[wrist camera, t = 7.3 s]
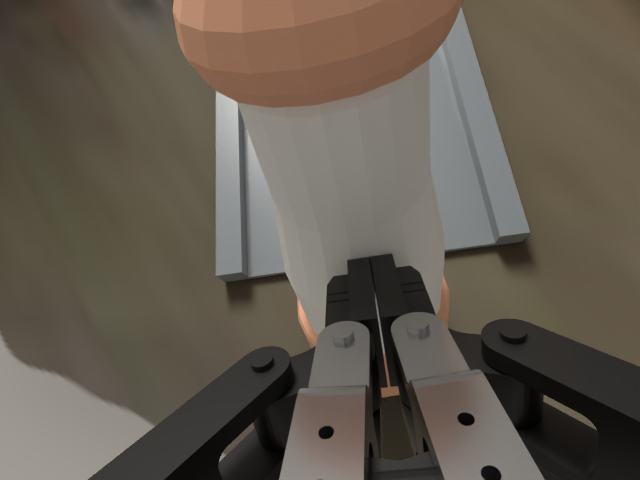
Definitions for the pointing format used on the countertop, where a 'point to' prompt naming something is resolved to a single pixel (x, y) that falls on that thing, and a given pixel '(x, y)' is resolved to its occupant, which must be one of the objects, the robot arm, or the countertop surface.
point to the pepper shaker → (334, 129)
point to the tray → (445, 162)
